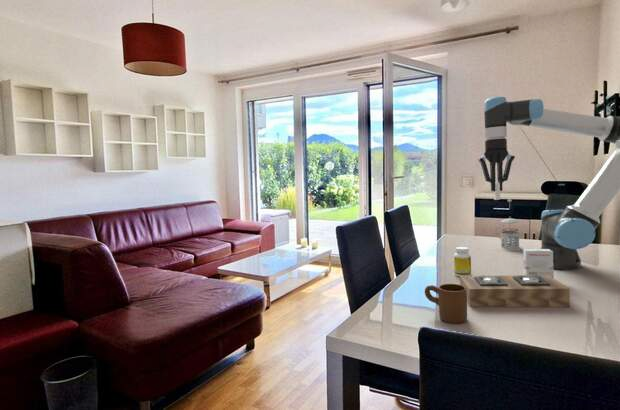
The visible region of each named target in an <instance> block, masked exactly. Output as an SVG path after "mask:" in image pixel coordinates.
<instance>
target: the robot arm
mask: <svg viewBox="0 0 620 410" xmlns="http://www.w3.org/2000/svg"><path fill="white" fill-rule="evenodd" d="M483 112H484V113H483V114H484V139H486V140H485V141H484V145H485V146H484V148H485V149H484V150H485V151H484V153H483V155H482V156H481V157H478V159H477V160H478V162H479V164H480V165H481V168H482V172H483V175H484V178H485V182H487V183H490V191H491V192H493V200H495V201H498V200H501V191H503V183H504V182H507V181H508V180H509V175H510V173H511V168H512V164H513V161H514V159H515V157H516V156H515V155H511V154H510V153H509V151H508V146H507V145H508V139H507V136H508V135H507V134H508V133H507V132H508V131H507V130H508V129H507V123H508V124H509V125H514V126H517V125H520V126H527V127H533V128H538V129H545V130H550V131H551V130H552V131H557V132H563V133H569V134H575V135H580V136H586V137H591V138H593V137H594V138H598V140H599V141H600V142H605V143H610V144H615V146H616V148H615V149H614V151H613V152H612V154H611V155H610V156H609V158H608V159H607V161H606V162H604V164H603V166H602V167H601V168H600V169H599V170H598V173H597V174H596V175H595V176H594V177H593V179H592V180H591V182H589V184H588V186H587V187H586V188H585V189H584V191H583V192H582V193H581V195H580V196H579V198H578V199H577V200H576V201H575V203H573V204H572V205H567V206H566V207H565V208H564V209H545V210H543V211H542V212H541V216H540V219H541V247H540V249H550V250H551V251H553V270H554V269H555V270H577V269H580V268H581V267H582V260H581V258H580V255H579V252H578V250H580V249H584V248H586V247H588V246H589V245H591V244H592V242H593V241H594V240H595V237H596V229H597V228H598V227H599V225H600V224H601V219H600V216H601V215H602V213H603V212H604V211H605V210H606V209H607V207H608V206H609V204H610V203H611V202H612V201H613V200H614V198H615V197H616V195H617V194H619V192H620V116H614V115H608V116H607V117H602V116H595V115H590V114H589V115H588V114H582V113H575V112H568V111H562V110H555V109H548V108H544V102H543V100H542V99H540V98H535V99H533V98H531V99H523V100H516V101H507V98H506V97H505V96H496V97H490V98H488V99H486V100H485V101H484V111H483ZM505 160H506V163H505V166H504V170H503V165H504V161H505ZM486 161H488V162H489V168H490V169H488V166H487V163H486ZM496 167H497V168H496ZM496 169H497V170H496ZM489 171H490V172H489ZM496 172H497V173H496ZM496 174H497V178H496ZM496 179H497V182H496Z"/></svg>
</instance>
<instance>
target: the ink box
mask: <svg viewBox="0 0 620 410" xmlns="http://www.w3.org/2000/svg"><path fill="white" fill-rule="evenodd" d="M522 251H523V253H522V254H523V255H522V256H523V275H549V276H551V277H552V278H554V279H555V277H554V269H553V251H551V250H550V249H541V248H523V250H522Z"/></svg>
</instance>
